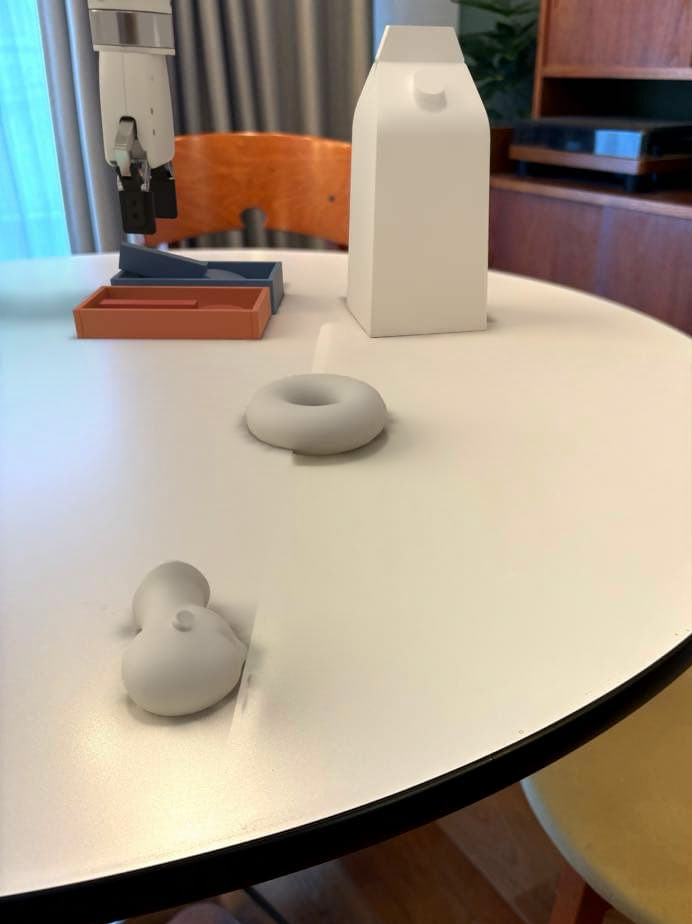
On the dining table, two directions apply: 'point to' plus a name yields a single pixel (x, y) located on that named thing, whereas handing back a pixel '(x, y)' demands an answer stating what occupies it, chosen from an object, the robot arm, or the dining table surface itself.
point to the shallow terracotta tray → (160, 304)
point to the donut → (316, 413)
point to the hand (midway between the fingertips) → (152, 225)
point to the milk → (419, 190)
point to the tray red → (175, 313)
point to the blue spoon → (166, 264)
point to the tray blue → (251, 270)
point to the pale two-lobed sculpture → (179, 644)
